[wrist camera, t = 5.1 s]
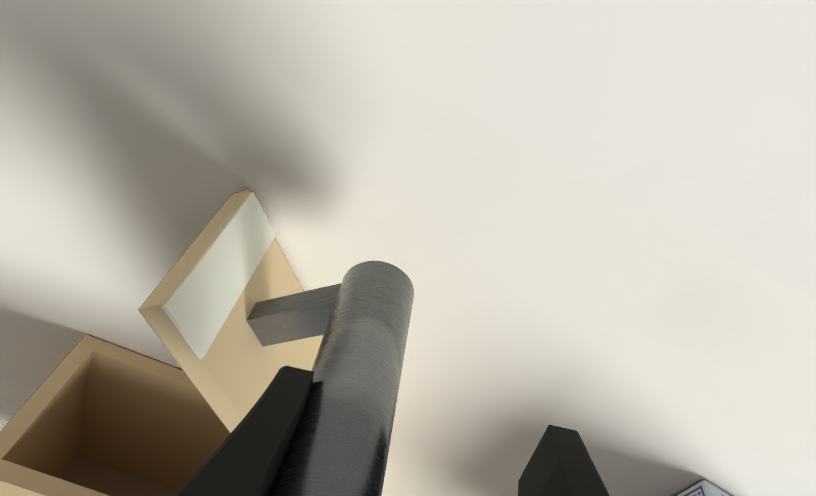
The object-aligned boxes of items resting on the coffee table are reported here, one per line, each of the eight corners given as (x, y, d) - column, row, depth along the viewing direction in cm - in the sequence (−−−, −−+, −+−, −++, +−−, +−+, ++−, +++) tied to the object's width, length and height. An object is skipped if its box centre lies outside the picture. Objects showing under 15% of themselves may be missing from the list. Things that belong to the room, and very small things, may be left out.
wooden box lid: (368, 435, 23) (305, 744, 14) (231, 194, 17) (1, 476, 9) (491, 418, 21) (499, 749, 13) (388, 149, 16) (288, 435, 7)
